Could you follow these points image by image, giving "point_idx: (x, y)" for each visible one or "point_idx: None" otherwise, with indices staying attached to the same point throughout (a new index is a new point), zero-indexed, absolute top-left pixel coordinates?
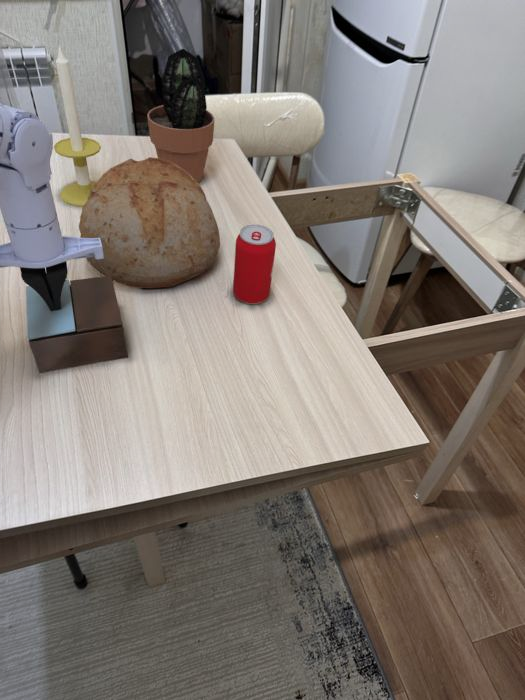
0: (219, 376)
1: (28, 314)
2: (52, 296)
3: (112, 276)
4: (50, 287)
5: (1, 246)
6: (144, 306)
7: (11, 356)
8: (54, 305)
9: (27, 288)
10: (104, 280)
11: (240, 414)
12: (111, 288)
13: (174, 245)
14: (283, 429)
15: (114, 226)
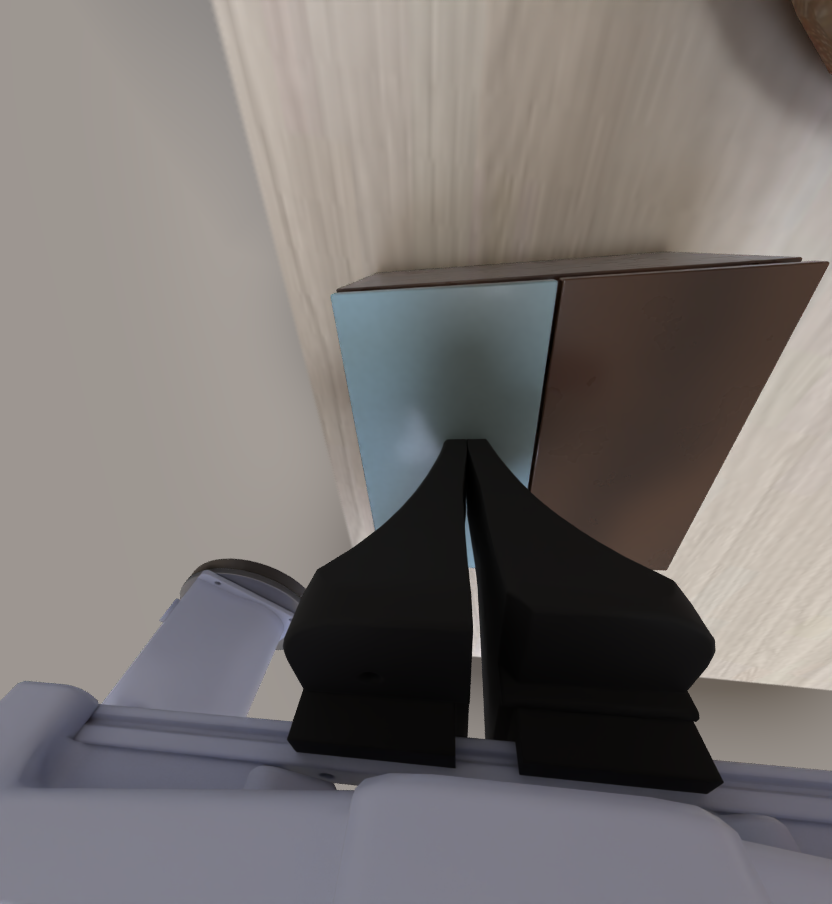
0: (769, 557)
1: (370, 482)
2: (465, 489)
3: (813, 17)
4: (480, 636)
5: (40, 891)
6: (783, 251)
7: (330, 411)
8: (467, 515)
9: (341, 318)
10: (754, 315)
11: (733, 620)
12: (747, 393)
13: None
14: (776, 650)
15: None
